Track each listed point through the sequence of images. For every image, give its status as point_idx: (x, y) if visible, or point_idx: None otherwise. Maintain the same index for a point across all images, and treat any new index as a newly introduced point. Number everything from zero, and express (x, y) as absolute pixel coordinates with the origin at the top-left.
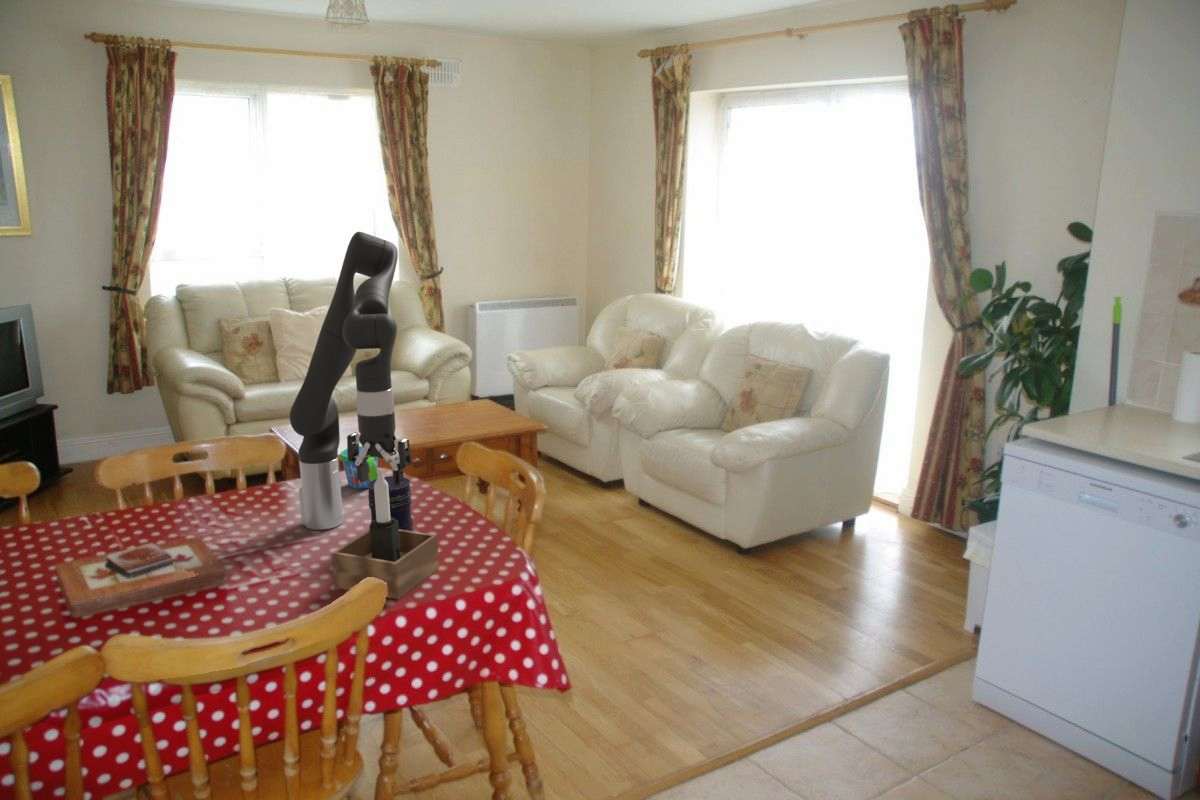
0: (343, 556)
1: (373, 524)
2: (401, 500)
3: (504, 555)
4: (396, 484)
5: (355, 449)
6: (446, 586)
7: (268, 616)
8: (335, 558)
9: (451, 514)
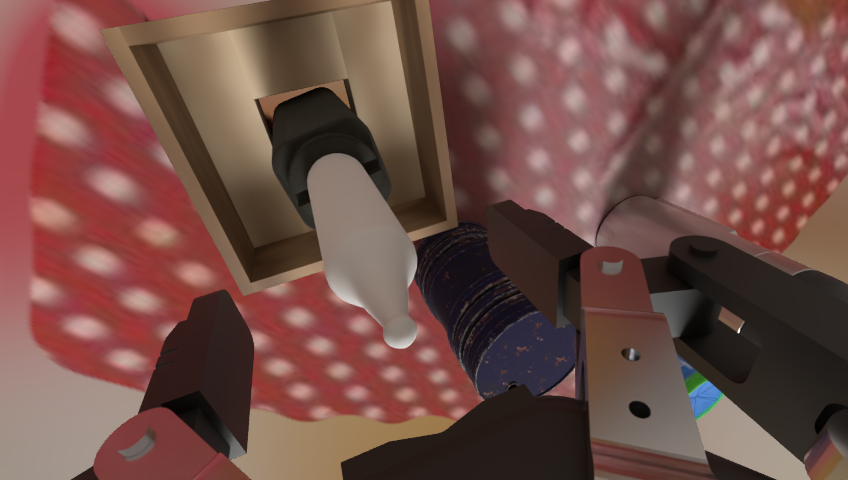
0: None
1: (350, 136)
2: (459, 336)
3: None
4: (192, 310)
5: (756, 364)
6: (125, 186)
7: None
8: None
9: (445, 393)
